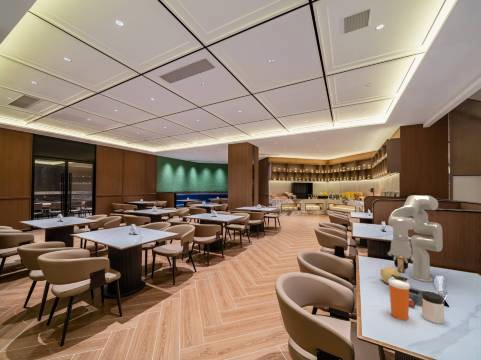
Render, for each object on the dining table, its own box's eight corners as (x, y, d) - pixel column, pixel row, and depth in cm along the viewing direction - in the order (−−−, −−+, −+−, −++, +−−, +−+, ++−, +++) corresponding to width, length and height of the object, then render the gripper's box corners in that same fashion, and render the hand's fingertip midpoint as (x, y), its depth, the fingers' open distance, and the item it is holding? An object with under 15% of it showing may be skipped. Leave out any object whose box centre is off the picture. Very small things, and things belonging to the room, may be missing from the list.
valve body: (403, 294, 132) (403, 285, 132) (426, 301, 124) (426, 291, 124) (397, 303, 121) (397, 294, 121) (422, 312, 112) (422, 301, 113)
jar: (448, 321, 104) (447, 297, 104) (440, 326, 100) (439, 300, 101) (426, 312, 112) (425, 289, 112) (418, 316, 108) (417, 292, 109)
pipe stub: (397, 269, 133) (397, 254, 134) (406, 272, 129) (406, 255, 130) (395, 271, 130) (395, 255, 130) (405, 274, 126) (404, 257, 127)
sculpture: (394, 280, 151) (394, 265, 152) (406, 287, 139) (405, 271, 140) (378, 279, 152) (377, 264, 153) (388, 287, 141) (387, 270, 141)
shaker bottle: (412, 323, 102) (411, 282, 103) (389, 317, 107) (388, 277, 108) (409, 314, 109) (408, 275, 110) (388, 309, 114) (387, 272, 115)
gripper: (418, 239, 127) (419, 270, 126) (386, 235, 139) (387, 262, 139) (416, 241, 122) (417, 273, 121) (383, 236, 135) (383, 265, 134)
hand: (401, 267), depth 130 cm, fingers closed on pipe stub, 4 cm apart
